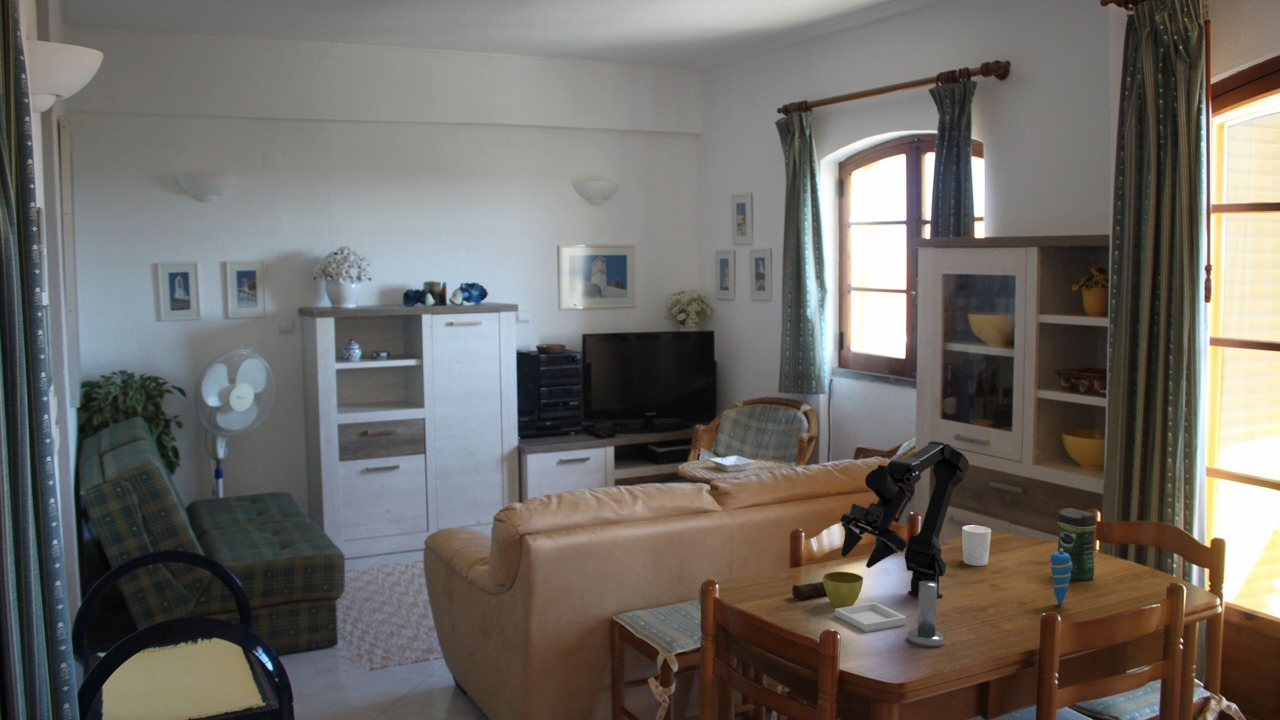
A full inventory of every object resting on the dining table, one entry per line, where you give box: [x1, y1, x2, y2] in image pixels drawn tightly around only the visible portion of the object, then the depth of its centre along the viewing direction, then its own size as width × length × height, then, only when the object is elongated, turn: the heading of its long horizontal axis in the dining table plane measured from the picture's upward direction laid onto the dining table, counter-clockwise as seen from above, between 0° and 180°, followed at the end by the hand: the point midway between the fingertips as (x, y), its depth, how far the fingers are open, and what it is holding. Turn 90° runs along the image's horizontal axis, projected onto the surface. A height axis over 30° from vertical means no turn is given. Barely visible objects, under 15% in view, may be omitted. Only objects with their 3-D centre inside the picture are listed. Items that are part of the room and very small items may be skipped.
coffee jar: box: [1056, 507, 1097, 581], centre depth 285 cm, size 10×8×19 cm
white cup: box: [961, 524, 992, 567], centre depth 297 cm, size 8×8×10 cm
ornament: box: [1050, 548, 1073, 606], centre depth 261 cm, size 5×5×15 cm
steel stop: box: [907, 581, 946, 648], centre depth 236 cm, size 8×8×14 cm
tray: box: [834, 601, 907, 634], centre depth 249 cm, size 12×12×2 cm
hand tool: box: [791, 581, 827, 601], centre depth 268 cm, size 19×4×5 cm, turn 114°
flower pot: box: [822, 571, 864, 608], centre depth 260 cm, size 10×10×7 cm
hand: (854, 561), depth 250 cm, fingers open, 9 cm apart
